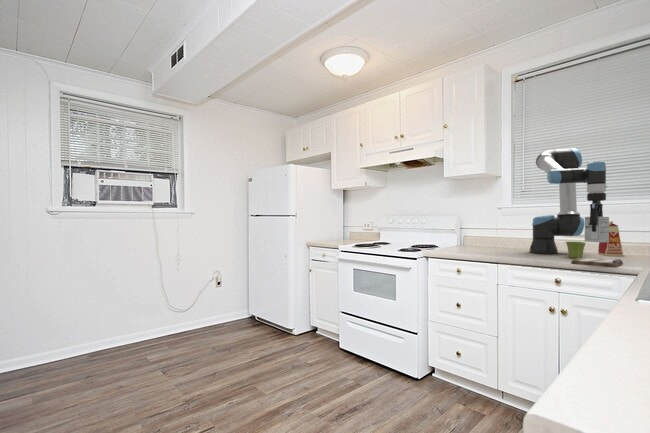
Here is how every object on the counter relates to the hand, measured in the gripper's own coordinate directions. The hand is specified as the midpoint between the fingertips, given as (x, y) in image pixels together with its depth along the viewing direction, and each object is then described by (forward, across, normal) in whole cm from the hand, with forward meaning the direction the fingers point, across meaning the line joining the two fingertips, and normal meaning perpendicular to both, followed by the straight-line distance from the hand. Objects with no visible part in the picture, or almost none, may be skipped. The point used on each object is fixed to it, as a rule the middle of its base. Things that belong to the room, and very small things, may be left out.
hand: (596, 237), depth 180 cm
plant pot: (+13, +18, +13) cm, 26 cm away
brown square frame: (+13, 0, 0) cm, 13 cm away
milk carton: (+13, +44, +2) cm, 46 cm away
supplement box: (+2, 0, 0) cm, 2 cm away
